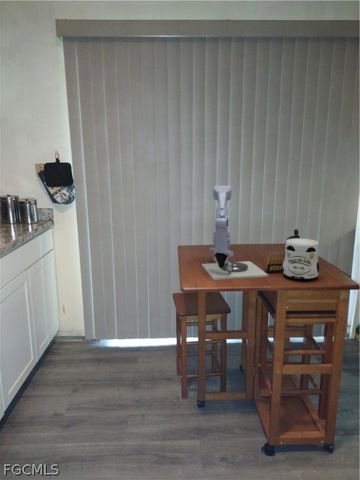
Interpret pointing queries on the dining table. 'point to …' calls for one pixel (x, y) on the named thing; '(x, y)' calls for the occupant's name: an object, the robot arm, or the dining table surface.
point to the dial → (235, 267)
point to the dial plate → (220, 274)
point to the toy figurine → (294, 235)
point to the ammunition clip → (275, 263)
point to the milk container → (301, 259)
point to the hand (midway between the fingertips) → (221, 267)
